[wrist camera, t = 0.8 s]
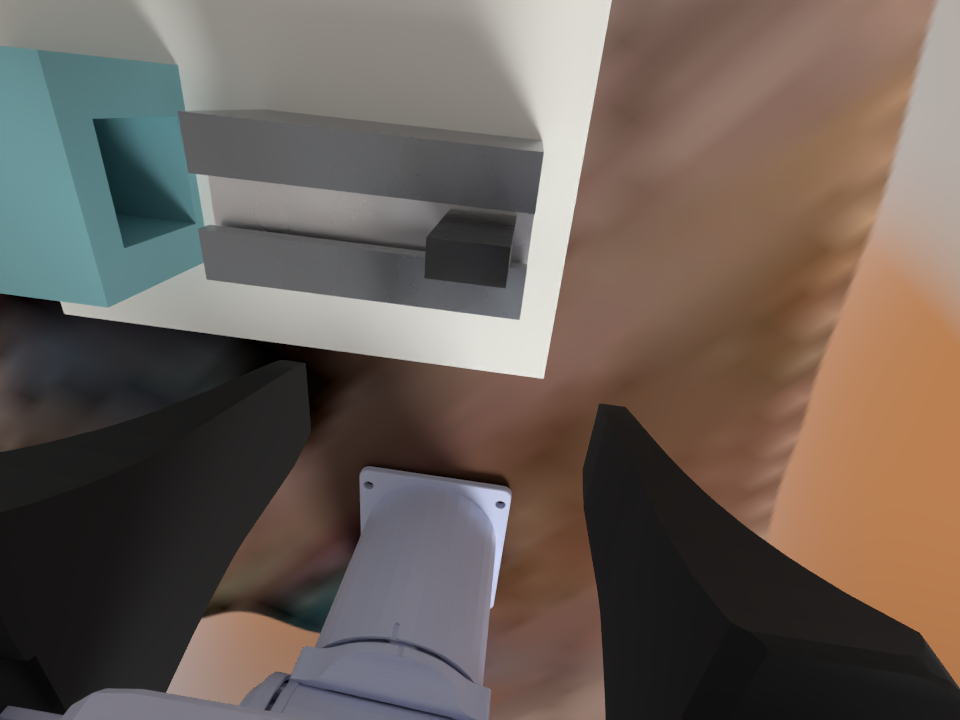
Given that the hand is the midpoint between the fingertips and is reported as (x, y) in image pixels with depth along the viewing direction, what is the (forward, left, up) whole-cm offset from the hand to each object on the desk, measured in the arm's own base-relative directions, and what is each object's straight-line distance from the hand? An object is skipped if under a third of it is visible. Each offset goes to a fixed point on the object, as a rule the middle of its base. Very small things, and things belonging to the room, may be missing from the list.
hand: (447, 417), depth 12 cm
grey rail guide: (+3, +4, -9) cm, 10 cm away
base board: (+3, +8, -10) cm, 13 cm away
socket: (+3, +15, -10) cm, 18 cm away
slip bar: (+3, +4, -8) cm, 9 cm away
